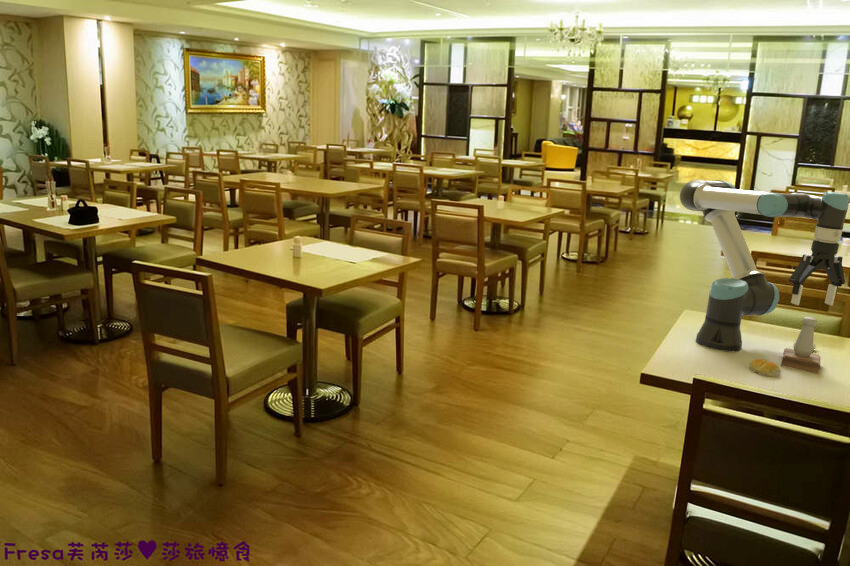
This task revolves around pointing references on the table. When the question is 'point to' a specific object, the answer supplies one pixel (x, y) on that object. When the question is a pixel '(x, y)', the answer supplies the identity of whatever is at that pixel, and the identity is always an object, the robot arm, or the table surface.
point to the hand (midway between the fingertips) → (811, 304)
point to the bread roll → (765, 368)
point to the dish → (813, 345)
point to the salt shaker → (805, 338)
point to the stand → (801, 361)
